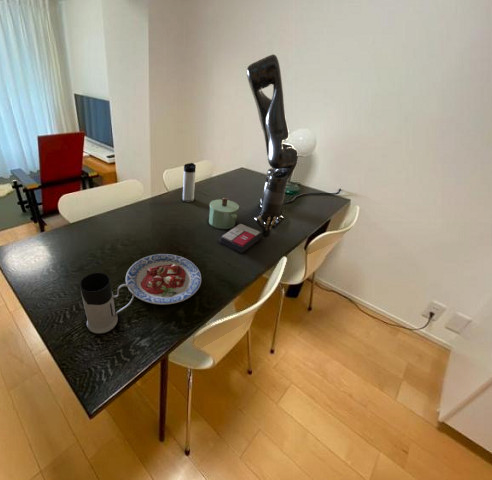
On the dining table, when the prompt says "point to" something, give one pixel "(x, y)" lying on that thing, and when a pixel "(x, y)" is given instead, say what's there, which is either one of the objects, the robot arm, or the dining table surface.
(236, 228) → the black square box
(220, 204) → the pot lid
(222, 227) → the pot
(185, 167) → the travel mug
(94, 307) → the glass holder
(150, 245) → the dining table surface
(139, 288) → the ceramic plate
